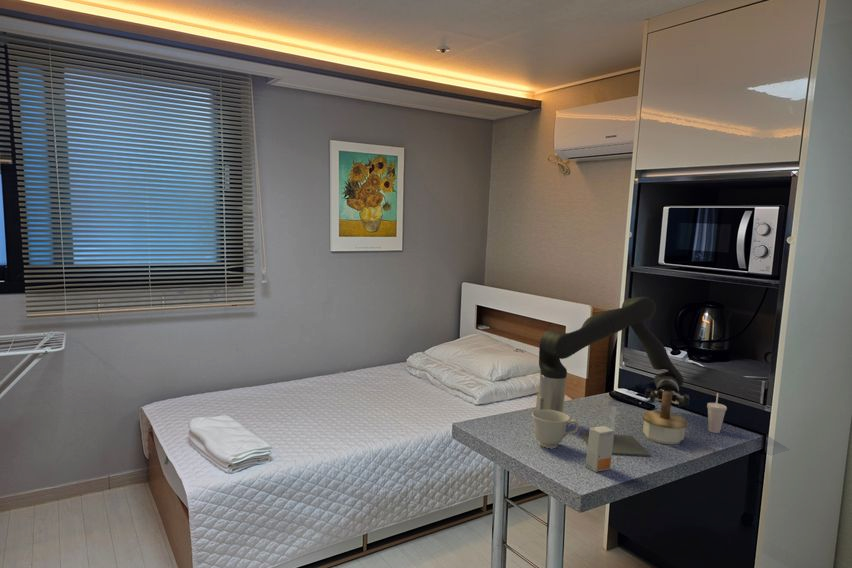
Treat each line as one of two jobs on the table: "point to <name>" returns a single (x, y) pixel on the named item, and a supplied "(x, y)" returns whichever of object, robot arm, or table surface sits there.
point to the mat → (624, 445)
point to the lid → (665, 415)
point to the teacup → (551, 427)
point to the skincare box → (599, 448)
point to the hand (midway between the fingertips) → (666, 401)
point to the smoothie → (715, 416)
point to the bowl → (663, 434)
